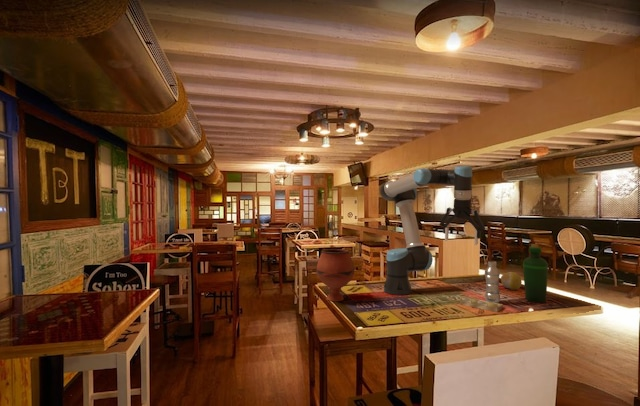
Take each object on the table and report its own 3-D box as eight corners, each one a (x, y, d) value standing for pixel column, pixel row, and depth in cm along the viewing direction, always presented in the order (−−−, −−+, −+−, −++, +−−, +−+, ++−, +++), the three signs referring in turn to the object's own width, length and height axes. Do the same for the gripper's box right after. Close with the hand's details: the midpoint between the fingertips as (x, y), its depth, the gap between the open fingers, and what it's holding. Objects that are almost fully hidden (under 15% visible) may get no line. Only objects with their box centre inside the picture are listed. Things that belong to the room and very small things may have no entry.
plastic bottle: (502, 305, 150) (502, 263, 150) (487, 304, 151) (486, 262, 151) (497, 301, 156) (497, 260, 156) (483, 300, 157) (482, 260, 158)
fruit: (512, 286, 185) (511, 269, 185) (526, 291, 174) (526, 273, 174) (496, 287, 183) (496, 270, 184) (509, 292, 173) (509, 274, 173)
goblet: (362, 300, 157) (361, 251, 157) (329, 307, 147) (329, 253, 148) (340, 292, 173) (340, 247, 174) (310, 297, 164) (309, 249, 164)
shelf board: (460, 304, 151) (460, 297, 151) (467, 300, 157) (467, 293, 157) (496, 312, 139) (496, 304, 139) (503, 307, 146) (503, 300, 146)
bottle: (546, 299, 159) (545, 244, 160) (551, 304, 150) (550, 246, 150) (521, 296, 164) (520, 243, 164) (524, 302, 154) (524, 245, 155)
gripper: (433, 198, 154) (432, 240, 157) (489, 201, 138) (487, 248, 141) (438, 196, 160) (437, 236, 163) (493, 199, 144) (491, 244, 147)
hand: (460, 242), depth 152 cm, fingers open, 13 cm apart
